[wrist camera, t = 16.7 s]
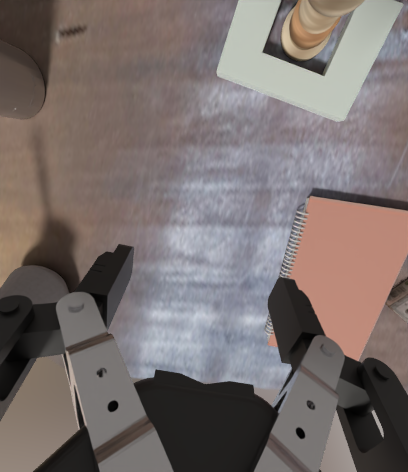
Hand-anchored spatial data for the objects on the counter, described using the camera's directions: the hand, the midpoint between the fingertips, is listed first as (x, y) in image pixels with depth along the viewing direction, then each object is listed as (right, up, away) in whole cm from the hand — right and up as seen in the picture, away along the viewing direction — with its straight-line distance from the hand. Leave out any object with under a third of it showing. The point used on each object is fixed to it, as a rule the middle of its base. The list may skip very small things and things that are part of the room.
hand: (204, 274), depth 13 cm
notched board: (+12, +25, +17) cm, 33 cm away
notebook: (+21, -5, +27) cm, 35 cm away
